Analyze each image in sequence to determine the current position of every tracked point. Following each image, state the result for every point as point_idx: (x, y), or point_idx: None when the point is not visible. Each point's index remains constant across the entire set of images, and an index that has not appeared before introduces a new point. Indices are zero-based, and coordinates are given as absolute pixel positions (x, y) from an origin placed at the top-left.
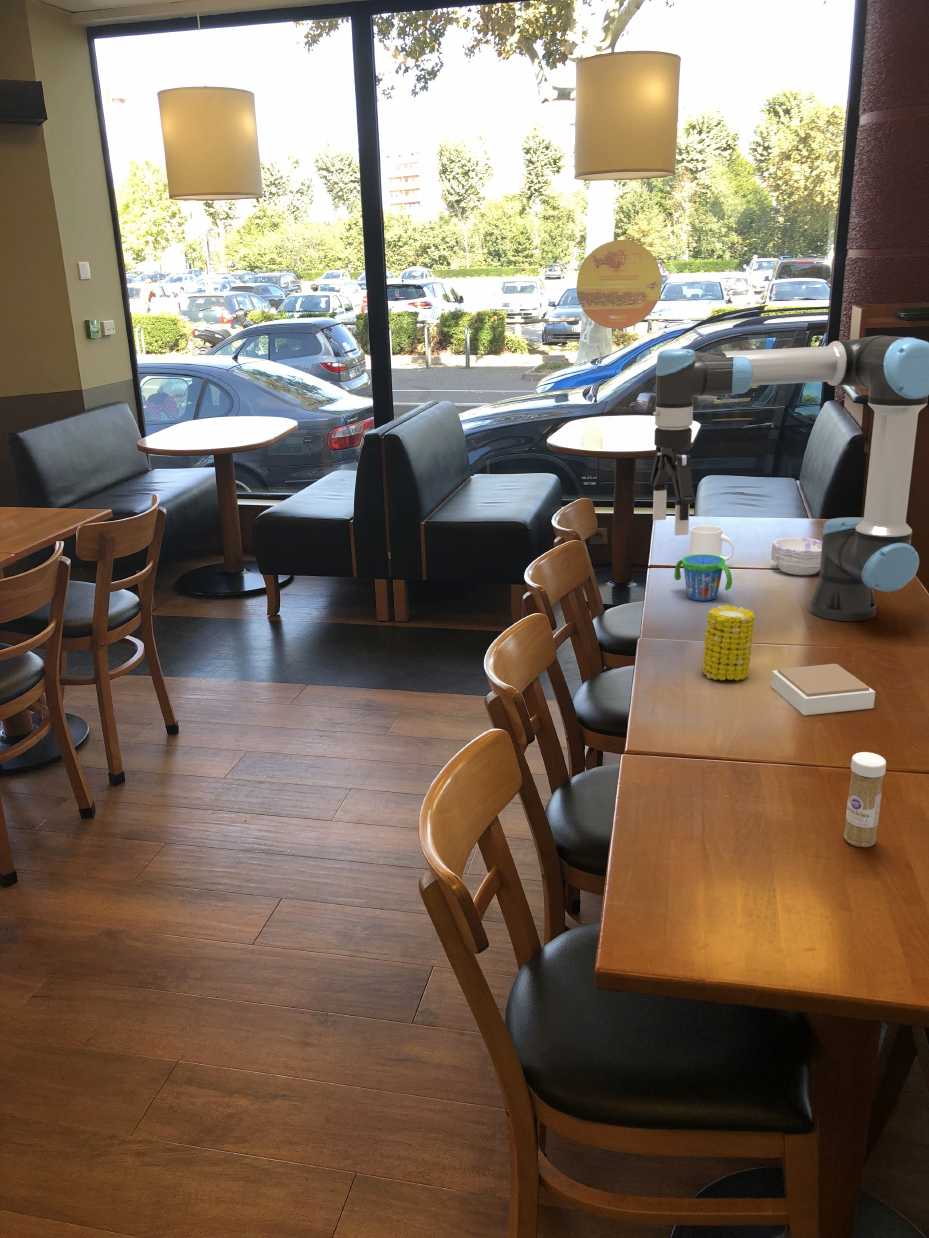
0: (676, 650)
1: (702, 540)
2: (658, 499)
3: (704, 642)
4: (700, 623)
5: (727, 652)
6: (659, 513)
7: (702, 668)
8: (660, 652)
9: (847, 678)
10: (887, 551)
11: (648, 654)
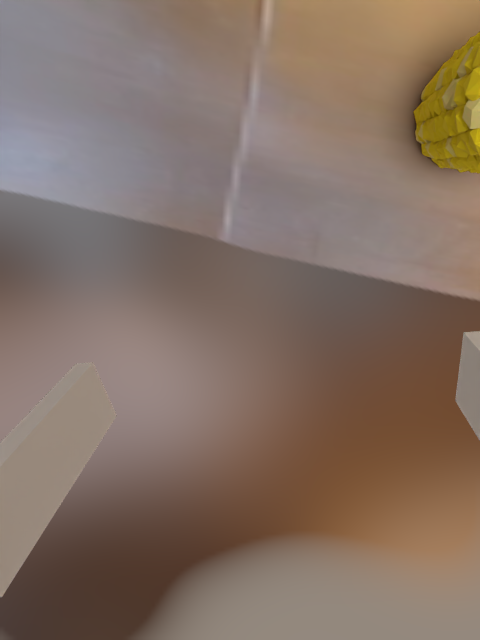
0: (294, 197)
1: None
2: (35, 506)
3: (458, 168)
4: (125, 101)
5: None
6: (87, 419)
7: (442, 167)
8: (301, 233)
9: None
10: None
11: (308, 258)
